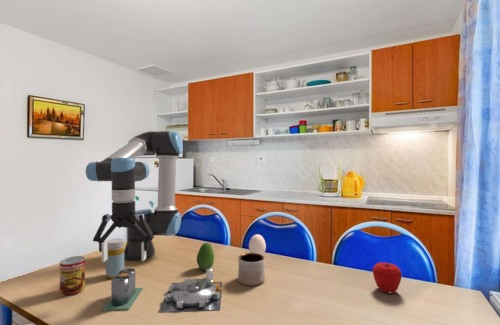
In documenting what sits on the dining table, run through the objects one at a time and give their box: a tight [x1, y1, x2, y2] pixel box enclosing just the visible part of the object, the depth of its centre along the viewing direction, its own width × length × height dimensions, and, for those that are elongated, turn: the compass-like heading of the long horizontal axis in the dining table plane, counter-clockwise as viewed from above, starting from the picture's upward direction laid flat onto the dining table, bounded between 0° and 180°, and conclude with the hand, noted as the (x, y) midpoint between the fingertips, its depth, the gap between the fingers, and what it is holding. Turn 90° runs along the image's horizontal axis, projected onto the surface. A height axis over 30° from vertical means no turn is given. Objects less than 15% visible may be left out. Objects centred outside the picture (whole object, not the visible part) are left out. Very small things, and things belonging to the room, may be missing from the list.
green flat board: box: [101, 287, 144, 312], centre depth 94 cm, size 14×8×1 cm, turn 4°
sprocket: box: [165, 267, 220, 308], centre depth 97 cm, size 20×20×8 cm
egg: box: [248, 234, 267, 256], centre depth 136 cm, size 9×9×12 cm
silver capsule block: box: [110, 268, 136, 306], centre depth 94 cm, size 12×6×8 cm, turn 4°
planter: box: [237, 252, 266, 287], centre depth 109 cm, size 11×11×10 cm
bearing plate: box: [158, 281, 223, 313], centre depth 97 cm, size 20×20×1 cm
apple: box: [372, 262, 403, 293], centre depth 101 cm, size 10×10×11 cm
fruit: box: [196, 242, 215, 271], centre depth 120 cm, size 8×8×12 cm
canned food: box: [59, 255, 86, 298], centre depth 100 cm, size 8×8×12 cm
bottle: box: [105, 238, 125, 280], centre depth 113 cm, size 7×7×15 cm
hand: (124, 260), depth 95 cm, fingers open, 13 cm apart
